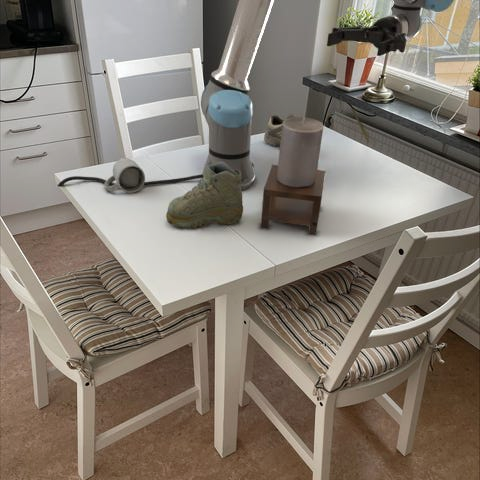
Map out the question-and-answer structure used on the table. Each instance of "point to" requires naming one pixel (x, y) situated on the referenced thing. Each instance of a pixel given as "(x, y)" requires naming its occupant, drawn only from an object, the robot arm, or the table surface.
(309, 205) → the shelf rack
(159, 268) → the table surface
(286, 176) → the pillar candle
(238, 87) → the robot arm
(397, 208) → the table surface
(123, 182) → the ceramic mug
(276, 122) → the hiking shoe
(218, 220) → the sneaker
